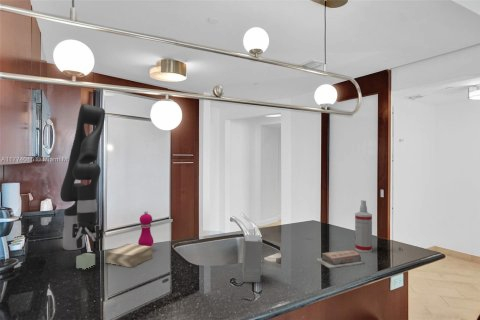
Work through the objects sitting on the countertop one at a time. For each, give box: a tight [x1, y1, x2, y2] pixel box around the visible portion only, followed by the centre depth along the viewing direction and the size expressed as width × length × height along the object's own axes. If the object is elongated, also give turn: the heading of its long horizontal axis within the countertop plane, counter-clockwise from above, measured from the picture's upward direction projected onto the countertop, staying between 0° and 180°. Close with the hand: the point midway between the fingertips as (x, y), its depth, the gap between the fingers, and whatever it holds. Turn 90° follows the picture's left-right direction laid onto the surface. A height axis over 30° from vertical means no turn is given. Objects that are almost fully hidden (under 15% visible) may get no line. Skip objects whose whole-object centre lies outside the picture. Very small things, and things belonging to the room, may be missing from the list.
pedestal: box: [105, 243, 154, 268], centre depth 135 cm, size 14×14×5 cm
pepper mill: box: [137, 210, 154, 247], centre depth 149 cm, size 7×7×20 cm
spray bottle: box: [354, 200, 373, 253], centre depth 151 cm, size 8×8×25 cm
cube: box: [75, 252, 96, 270], centre depth 127 cm, size 5×5×5 cm
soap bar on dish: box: [316, 249, 365, 269], centre depth 132 cm, size 18×5×10 cm
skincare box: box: [241, 234, 263, 283], centre depth 114 cm, size 8×7×16 cm
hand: (87, 248), depth 127 cm, fingers open, 8 cm apart
